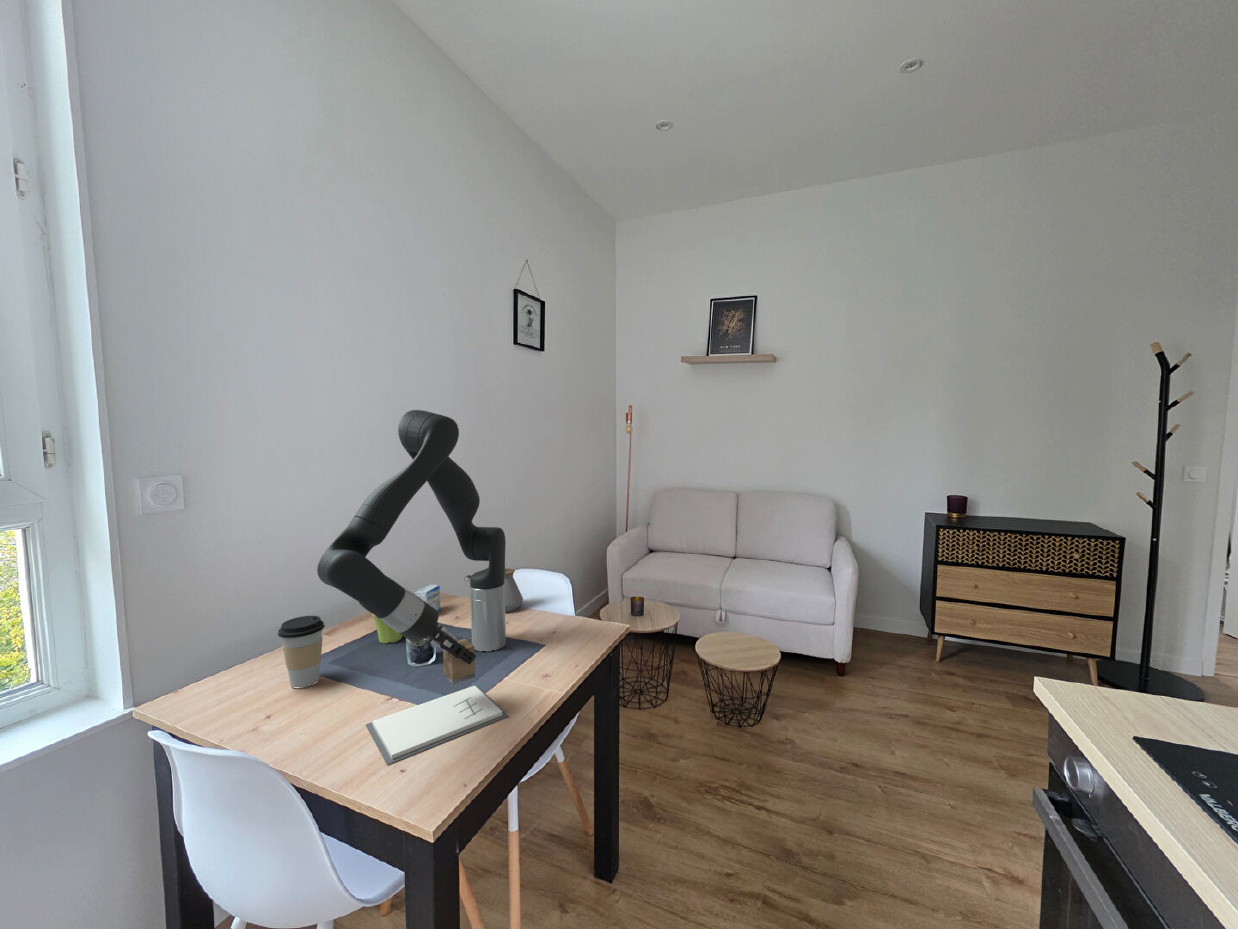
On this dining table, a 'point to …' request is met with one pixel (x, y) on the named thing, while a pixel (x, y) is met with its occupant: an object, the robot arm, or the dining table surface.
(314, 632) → the coffee cup
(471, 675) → the block
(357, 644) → the dining table surface
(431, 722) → the board
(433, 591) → the medicine box
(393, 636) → the plant pot
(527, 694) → the dining table surface
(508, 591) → the coffee pot
